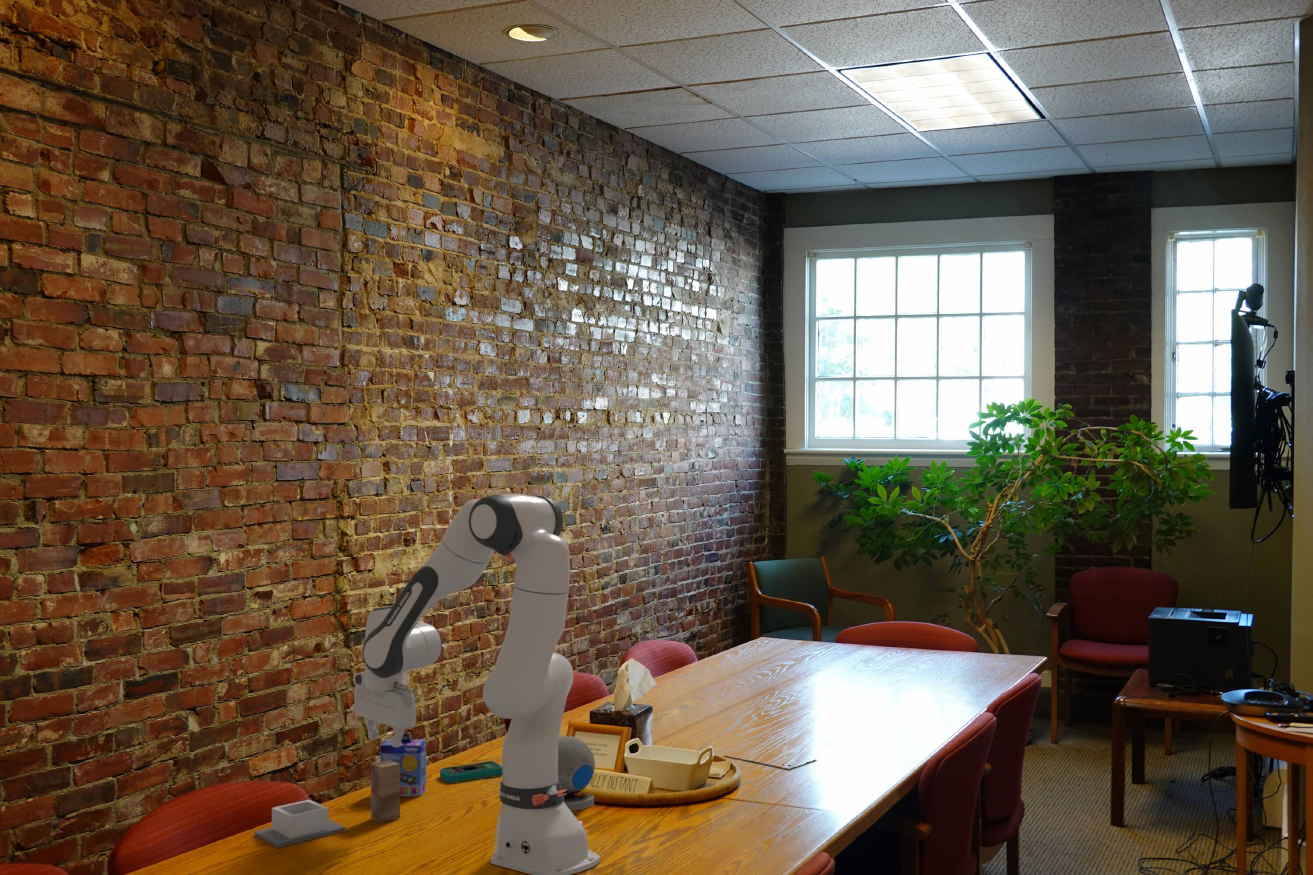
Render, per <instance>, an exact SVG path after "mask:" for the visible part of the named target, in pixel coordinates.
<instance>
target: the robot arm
mask: <svg viewBox="0 0 1313 875" xmlns="http://www.w3.org/2000/svg"><path fill="white" fill-rule="evenodd" d="M564 521H565V520H564V515H563V511H562V509H561V507H560V506H559V504H558V503H557V502H556V501H554V500H553V499H551V498H549V497H546V496H542V495H528V494H522V493H505V494H491V495H490V494H489V495H487V496H485V497H482V498H475V499H469V500H468V501H467V502H465V504H463V505H462V507H460V508H459V510H458V512H457V513H456V514H455V516H454V517H453V518H452V520H451V521H450V523H449V524H448V526H447V528H446V530H445V531H444V534H443V535H442V537H441V539H440V541H439V542H438V544H437V546H436V548H435V549H434V550H433V552H432V553H431V555H430V556H429V558H428V559H427V560H426V562H424V563H423V565H422V566H421V567H420V568H419V569H418V570H417V571H416V572H415V574H414V575H413V576H412V577H411V578H410V579H409V581H408V583H406V586H405V587H404V588H403V590H402V591H401V592H400V594H399V596H398V597H397V599H396V600H395V602H394V603H393V604H392V605H389V606H388V605H387V606H382V607H376V608H374V609H372V610H371V611H369V613H368V616H367V619H366V624H365V625H366V626H365V635H364V636H365V639H364V640H365V641H364V643H363V645H362V646H363V647H362V660H363V663H364V670H363V671H361V672H358V673H355V674H354V675H353V684H354V685H355V687H354V696H353V698H354V700H353V701H354V703H353V704H354V710H355V714H356V715H357V716H359V717H363V718H365V722H364V723H365V725H366V728H367V731H368V735H367V736H368V739H370V740H377V739H378V738H379V737H380V735H379V734H380V730H378V729H377V728H378V727H377V723H380V724H383V725H386V726H389V727H391V728H392V732H393V737H391V738H390V739H391V746H393V747H395V748H396V747H400V746H401V739H402V738H404V736H403V734H405V732H406V730H407V729H408V730H410V729H413V728H414V727H415V725H416V724H417V712H416V701H415V697H414V694H413V692H412V691H411V689H410V686H408V685H407V672H410V671H411V672H412V671H414V670H418V669H422V668H426V667H429V666H431V665H433V664H436V662H438V660H439V658H440V657H441V655H442V652H443V651H442V650H443V639H442V637H441V636H442V635H441V634H440V631H439V630H438V629H437V628H436V626H434V625H433V624H431V623H426V622H425V621H421V620H420V619H421V618H422V617H423V616H424V613H425V612H427V610H428V609H429V608H430V607H431V606H433V605H434V604H435V603H436V602H437V601H438V602H439V601H440V600H442V599H443V598H446V597H448V596H450V595H452V594H455V593H457V592H460V591H462V590H464V589H467V588H470V587H471V586H472V585H474V584H475V583H476V582H477V581H478V579H479V578H480V577H481V576H482V575H483V573H484V572H485V571H486V569H487V566H488V565H489V562H490V561H491V559H492V557H493V554H494V553H495V552H496V553H497V554H498V555H500V556H503V557H504V556H507V555H509V554H511V555H512V557H513V559H514V561H515V573H514V574H515V575H514V581H513V587H512V588H513V590H512V596H511V598H512V599H511V603H510V604H511V605H510V613H509V620H508V624H507V629H506V633H505V635H504V639H503V642H502V644H501V648H500V650H499V653H498V657H497V659H496V662H495V665H494V666H493V668H492V671H491V672H490V674H489V676H488V677H487V678H486V680H485V682H484V685H483V688H482V690H483V691H482V695H483V696H482V697H483V701H484V704H485V705H486V707H487V709H488V710H489V712H490V713H491V714H493V715H494V716H496V717H498V718H500V719H505V720H508V719H509V720H510V719H511V720H510V724H509V726H508V730H507V733H506V735H505V736H504V739H503V742H502V748H501V749H502V751H501V752H502V767H503V776H502V781H500V787H499V801H500V802H501V808H500V811H499V815H498V817H497V820H496V831H495V840H494V841H495V842H494V852H493V854H491V857H490V864H491V865H494V866H499V867H502V868H507V869H510V870H514V871H517V872H521V873H525V874H529V875H573V874H577V873H581V872H582V871H583V872H584V871H585V870H589V869H591V868H593V867H596V865H598V864H600V862H601V856H600V855H599V854H598V853H596V852H594V851H592V850H590V849H589V845H588V844H589V843H588V836H587V835H588V834H587V832H586V828H584V826H585V825H584V823H583V822H582V821H581V820H579V819H578V818H577V817H576V816H575V815H574V813H573V812H572V811H570V809H569V808H568V807H567V806H566V804H565V803H564V795H567V794H563V792H565V791H567V789H564V790H562V786H561V784H560V780H559V779H558V742H559V737H560V732H561V727H562V721H563V717H564V711H565V708H566V702H567V698H568V695H569V693H570V690H571V688H572V686H573V684H574V670H573V667H572V664H571V663H570V661H569V660H568V659H567V658H566V656H564V655H563V654H560V653H558V652H555V650H556V647H557V644H558V641H559V640H560V638H561V637H562V635H563V633H564V631H565V628H566V627H565V624H566V617H567V607H568V600H569V593H570V592H569V591H570V582H571V581H570V580H571V560H570V548H569V545H568V543H567V542H566V540H564V539H563V538H562V537H560V536H561V533H562V531H563V528H564Z"/></svg>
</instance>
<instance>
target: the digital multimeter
mask: <svg viewBox="0 0 1313 875" xmlns="http://www.w3.org/2000/svg"><path fill="white" fill-rule="evenodd" d="M502 775H503V765H501V764H499V763H497V762H495V761H493V760H488V761H481V762H476V763H475V762H474V763H471V764H470V763H469V764H462V765H454V766H448V767H443V768H441V769H440V770H439V777H440V779H441V781H442V782H445V783H447V784H450V783H452V784H457V783H456V782H458V783H463V782H462V781H464V782H469V781H468V780H471V781H475V779H477V780H482V778H483V779H488V778H487V777H490V778H494V777H493V776H497V777H503V776H502Z"/></svg>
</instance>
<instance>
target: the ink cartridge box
mask: <svg viewBox="0 0 1313 875" xmlns="http://www.w3.org/2000/svg"><path fill="white" fill-rule="evenodd" d="M379 750H380V753H379V754H380V758H379V759H380V760H379V762H382V761H387V760H391V761H394V762H396V763H399V764H400V797H414V798H415V797H418V798H419V797H421V796H422V795H423V794H424V793H425V792H426V791H427V740H425V739H411V736H410V733H404V734H403V737H402V739H401V746H400V747H396V748H395V747H393V746H391V738H390V739H385V740H384V741H383V742H382V743H381V744H380V749H379Z"/></svg>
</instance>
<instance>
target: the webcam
mask: <svg viewBox="0 0 1313 875" xmlns="http://www.w3.org/2000/svg"><path fill="white" fill-rule="evenodd" d="M595 769H596V762H595V756H594V754H593V752H592V749H591V748H590V747H589V745H588V744H587V743H586V742H584V741H583V740H582V739H580V738H578V737H575V736H572V735H564V736H559V742H558V779H559V780H560V784H561V786H562V790H564V789H567V791H565V792H563V794H567V795H564V803H565V804H566V806H567V807H568V808H569V809H570V811H571V812H572V811H573V812H574V811H579V810H584V809H587V808H590V807H592V806H593V805H595V803H594V796H593V795H590V794H585V793H582V796H577V795H574V794H575V793H578V792H580V791H581V790H583V789H586V787H588V785H589V784H590V783H591V781H592V779H593V776H594V773H595Z"/></svg>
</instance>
